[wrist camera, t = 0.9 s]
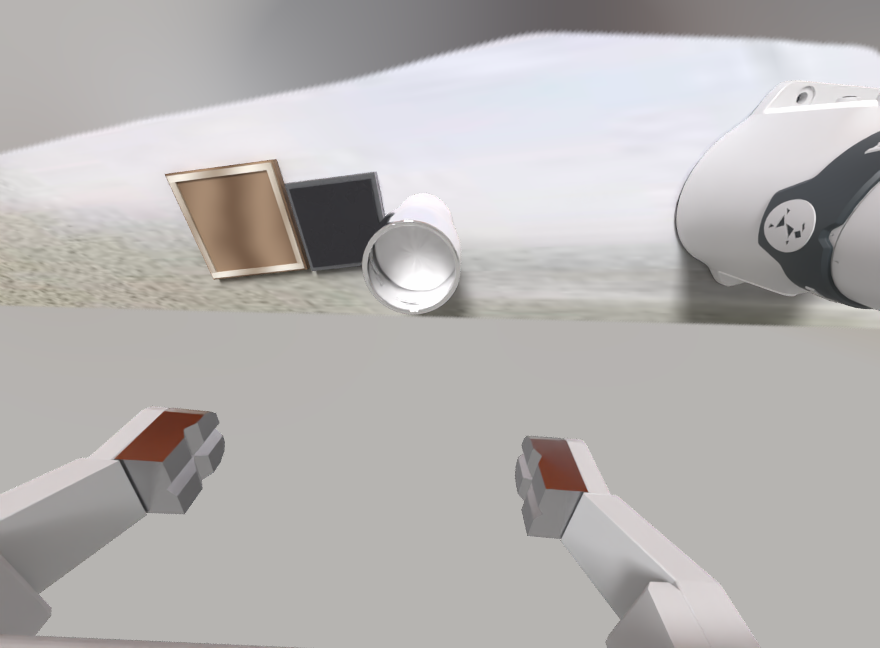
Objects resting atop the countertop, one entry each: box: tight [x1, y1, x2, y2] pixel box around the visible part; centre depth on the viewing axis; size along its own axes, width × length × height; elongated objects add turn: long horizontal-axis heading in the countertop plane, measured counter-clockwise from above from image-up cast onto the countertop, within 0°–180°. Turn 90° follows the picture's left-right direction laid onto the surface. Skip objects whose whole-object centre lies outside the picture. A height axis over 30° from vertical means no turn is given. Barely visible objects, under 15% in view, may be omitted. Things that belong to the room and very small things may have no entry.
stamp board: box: [165, 159, 310, 280], centre depth 35 cm, size 11×11×1 cm
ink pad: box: [285, 172, 385, 271], centre depth 35 cm, size 9×9×2 cm
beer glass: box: [362, 193, 461, 314], centre depth 29 cm, size 7×7×15 cm
